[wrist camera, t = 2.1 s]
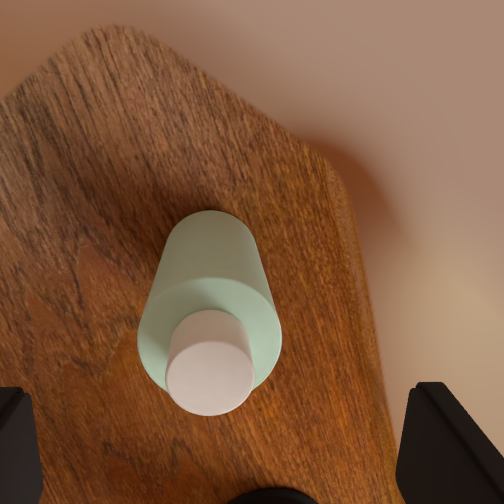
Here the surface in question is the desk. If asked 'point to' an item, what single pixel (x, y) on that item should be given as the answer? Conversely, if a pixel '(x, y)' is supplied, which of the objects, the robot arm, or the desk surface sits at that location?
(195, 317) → the bottle
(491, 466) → the robot arm
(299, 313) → the desk surface
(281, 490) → the aerosol can
